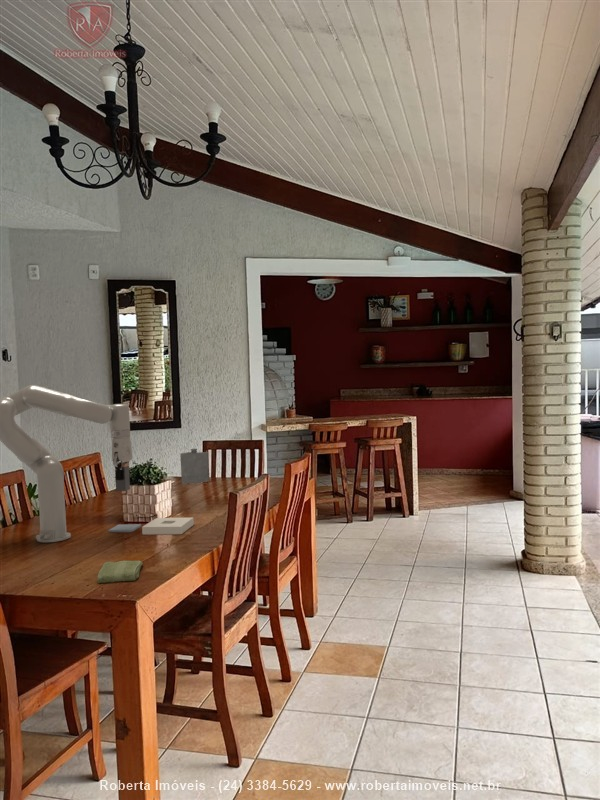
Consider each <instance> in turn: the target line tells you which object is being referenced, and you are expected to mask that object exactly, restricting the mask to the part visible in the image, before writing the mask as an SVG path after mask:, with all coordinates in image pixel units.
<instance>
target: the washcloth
mask: <svg viewBox="0 0 600 800" xmlns="http://www.w3.org/2000/svg"><path fill="white" fill-rule="evenodd" d="M143 565H144V563H143V561H141V560H120V561H115V562H114V561H106V562H104V563H103V564H102V566H101V568H100V570H99V571H98V573H97V578H96V579H97V583H98V584H105V583H115V582H118V583H119V582H132V581H137V579H139V578H140V571H141V568H142V566H143Z"/></svg>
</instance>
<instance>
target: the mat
mask: <svg viewBox="0 0 600 800" xmlns="http://www.w3.org/2000/svg"><path fill="white" fill-rule="evenodd" d="M140 528H142V524H141V523H139V524H137V523H135V524H133V523H132V524H131V523H130V524H121V523H120V524H117V525H115V526H114V527H112V528H110V529H108V530H107V532H108V533H133V532H135V531H137V530H138V529H140Z"/></svg>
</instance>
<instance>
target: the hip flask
mask: <svg viewBox="0 0 600 800" xmlns="http://www.w3.org/2000/svg"><path fill="white" fill-rule="evenodd" d="M209 459H210V457H209V452H208V451H204V452H203V451H202V452H201V451H200V452H198V448H190V451H188V452H181V453H180V473H181V474H180V475H181V477H180V478H181V484H182V485H187V484H186V483H201V482H207V481H211V480H210V479H211V478H210V460H209ZM201 484H202V483H201Z"/></svg>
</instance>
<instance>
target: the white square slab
mask: <svg viewBox="0 0 600 800" xmlns="http://www.w3.org/2000/svg"><path fill="white" fill-rule="evenodd" d="M194 524H195V521H194V517H156V518H154V519H153V520H151V521H149V522H148V523H146V524H144V525H143V526H141V529H142V530H141V532H142V535H143V536H145V535H151V536H152V535H183V534H184V533H185V532H187V530H189V529H190V528H191V527H193V526H194Z"/></svg>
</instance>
